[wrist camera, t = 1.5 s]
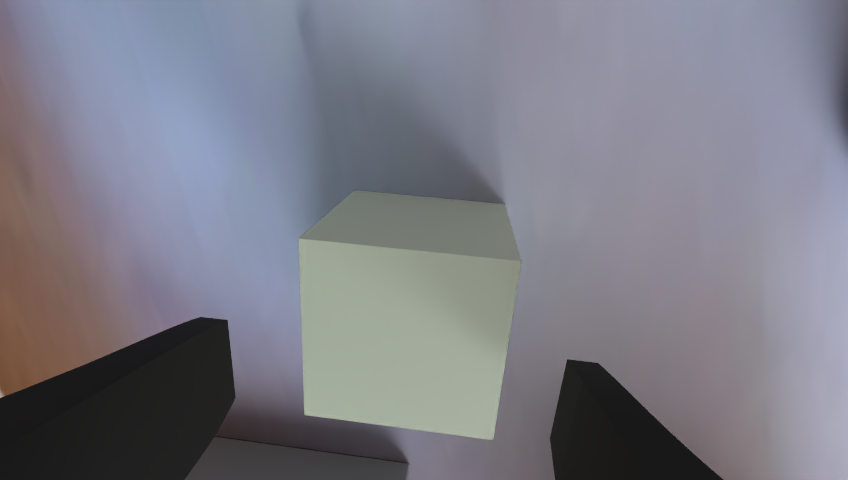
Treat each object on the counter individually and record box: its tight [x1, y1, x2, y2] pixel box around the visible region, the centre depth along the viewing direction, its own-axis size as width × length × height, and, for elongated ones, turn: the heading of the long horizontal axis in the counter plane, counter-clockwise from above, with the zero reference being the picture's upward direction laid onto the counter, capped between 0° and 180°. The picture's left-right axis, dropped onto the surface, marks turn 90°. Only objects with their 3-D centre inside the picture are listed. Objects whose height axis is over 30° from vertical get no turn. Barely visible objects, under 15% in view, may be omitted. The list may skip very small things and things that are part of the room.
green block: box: [299, 190, 521, 440], centre depth 13 cm, size 5×5×5 cm
